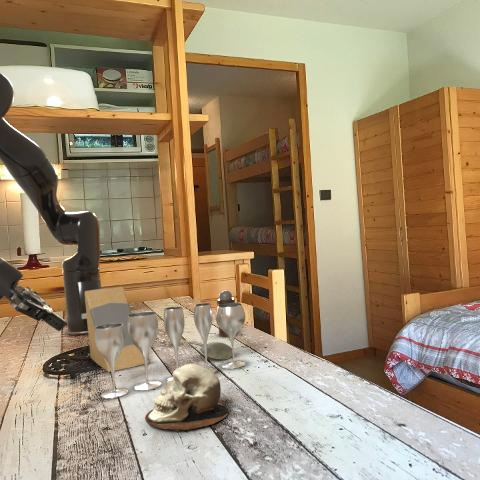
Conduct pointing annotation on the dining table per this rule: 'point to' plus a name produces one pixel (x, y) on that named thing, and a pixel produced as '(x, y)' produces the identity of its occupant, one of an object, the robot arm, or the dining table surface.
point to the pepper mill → (224, 298)
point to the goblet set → (146, 331)
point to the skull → (188, 400)
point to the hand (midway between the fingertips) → (63, 326)
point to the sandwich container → (108, 312)
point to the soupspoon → (214, 349)
